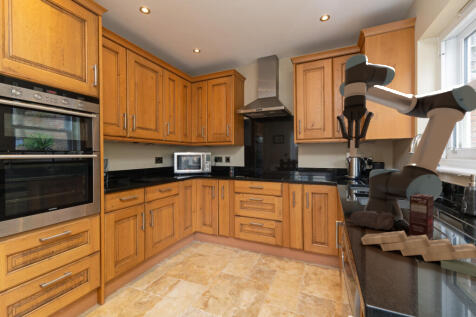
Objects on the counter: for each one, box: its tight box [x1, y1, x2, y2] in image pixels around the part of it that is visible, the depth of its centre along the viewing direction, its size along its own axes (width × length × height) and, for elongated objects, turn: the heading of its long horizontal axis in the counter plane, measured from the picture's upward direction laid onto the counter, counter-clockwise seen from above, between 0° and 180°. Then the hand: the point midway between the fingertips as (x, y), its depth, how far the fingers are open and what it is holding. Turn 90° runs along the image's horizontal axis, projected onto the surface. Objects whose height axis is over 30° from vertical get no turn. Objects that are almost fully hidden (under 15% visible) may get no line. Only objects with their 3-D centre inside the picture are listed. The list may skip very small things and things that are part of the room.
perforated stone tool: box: [349, 210, 395, 231], centre depth 80 cm, size 15×5×7 cm, turn 58°
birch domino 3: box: [400, 238, 455, 257], centre depth 56 cm, size 5×2×11 cm
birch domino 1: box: [360, 230, 408, 245], centre depth 62 cm, size 5×2×11 cm
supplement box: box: [408, 194, 434, 241], centre depth 67 cm, size 9×5×16 cm, turn 126°
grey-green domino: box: [439, 259, 476, 278], centre depth 49 cm, size 5×2×11 cm
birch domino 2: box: [379, 235, 430, 252], centre depth 58 cm, size 5×2×11 cm
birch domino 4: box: [421, 243, 476, 262], centre depth 53 cm, size 5×2×11 cm
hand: (353, 156), depth 79 cm, fingers closed
